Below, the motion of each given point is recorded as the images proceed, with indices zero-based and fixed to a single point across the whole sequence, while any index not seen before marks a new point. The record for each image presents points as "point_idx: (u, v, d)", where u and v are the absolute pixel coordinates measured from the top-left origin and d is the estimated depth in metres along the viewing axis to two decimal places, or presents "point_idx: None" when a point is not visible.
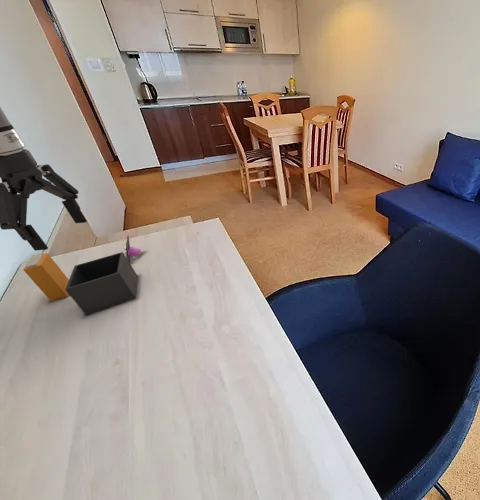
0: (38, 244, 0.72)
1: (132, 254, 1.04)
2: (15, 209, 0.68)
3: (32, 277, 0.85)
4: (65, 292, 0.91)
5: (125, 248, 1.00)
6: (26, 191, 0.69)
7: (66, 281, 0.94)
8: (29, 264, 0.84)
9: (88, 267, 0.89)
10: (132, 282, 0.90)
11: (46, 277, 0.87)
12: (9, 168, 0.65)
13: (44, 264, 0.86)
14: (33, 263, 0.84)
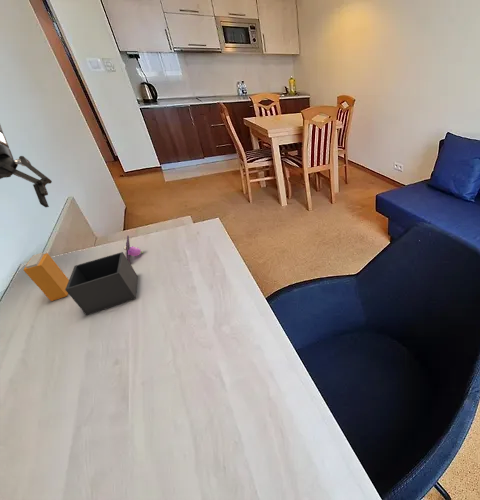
0: (45, 201, 0.90)
1: (132, 254, 1.04)
2: None
3: (32, 277, 0.85)
4: (65, 292, 0.91)
5: (125, 248, 1.00)
6: None
7: (66, 281, 0.94)
8: (29, 264, 0.84)
9: (88, 267, 0.89)
10: (132, 282, 0.90)
11: (46, 277, 0.87)
12: None
13: (44, 264, 0.86)
14: (33, 263, 0.84)
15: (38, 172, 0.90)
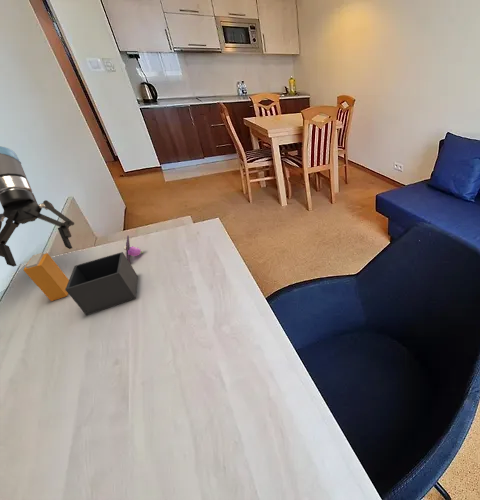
0: (69, 243, 0.94)
1: (132, 254, 1.04)
2: None
3: (32, 277, 0.85)
4: (65, 292, 0.91)
5: (125, 248, 1.00)
6: None
7: (66, 281, 0.94)
8: (29, 264, 0.84)
9: (88, 267, 0.89)
10: (132, 282, 0.90)
11: (46, 277, 0.87)
12: None
13: (44, 264, 0.86)
14: (33, 263, 0.84)
15: (62, 215, 0.94)
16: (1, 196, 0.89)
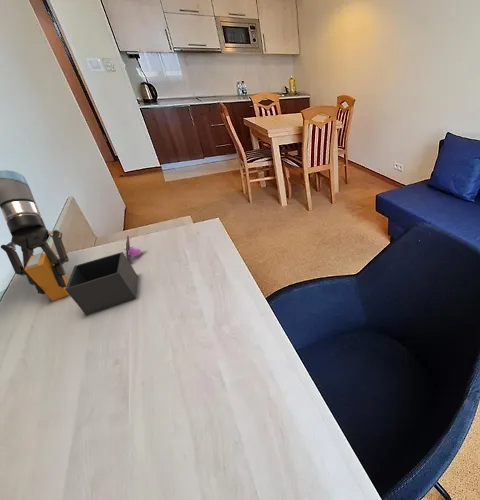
0: (63, 281, 0.90)
1: (132, 254, 1.04)
2: (52, 253, 0.91)
3: (33, 277, 0.85)
4: (66, 291, 0.91)
5: (125, 248, 1.00)
6: None
7: (66, 281, 0.94)
8: (30, 264, 0.84)
9: (88, 267, 0.89)
10: (132, 282, 0.90)
11: (47, 277, 0.87)
12: None
13: (45, 263, 0.86)
14: (34, 263, 0.84)
15: (60, 251, 0.91)
16: (9, 222, 0.87)
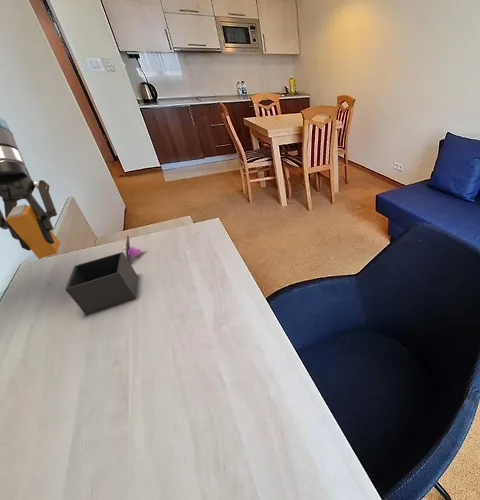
0: (50, 237, 0.80)
1: (132, 254, 1.04)
2: (38, 205, 0.81)
3: (16, 229, 0.75)
4: (55, 248, 0.82)
5: (125, 248, 1.00)
6: None
7: (54, 238, 0.84)
8: (12, 213, 0.74)
9: (88, 267, 0.89)
10: (132, 282, 0.90)
11: (32, 229, 0.77)
12: None
13: (29, 214, 0.76)
14: (17, 212, 0.75)
15: (47, 203, 0.81)
16: None
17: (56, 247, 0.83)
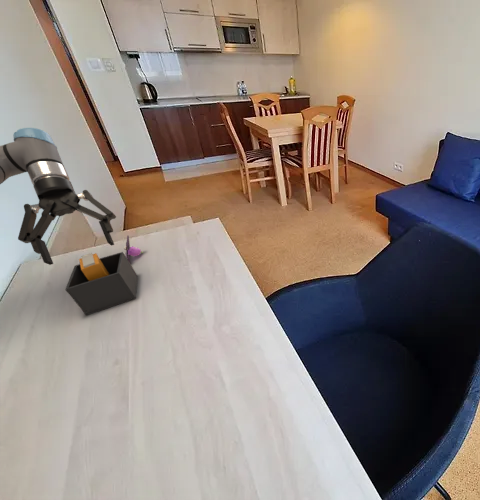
0: (111, 239, 0.83)
1: (132, 254, 1.04)
2: None
3: (89, 277, 0.82)
4: None
5: (125, 248, 1.00)
6: None
7: None
8: (86, 263, 0.81)
9: None
10: (132, 282, 0.90)
11: None
12: None
13: (99, 263, 0.83)
14: (90, 262, 0.81)
15: (103, 207, 0.83)
16: (36, 184, 0.78)
17: None
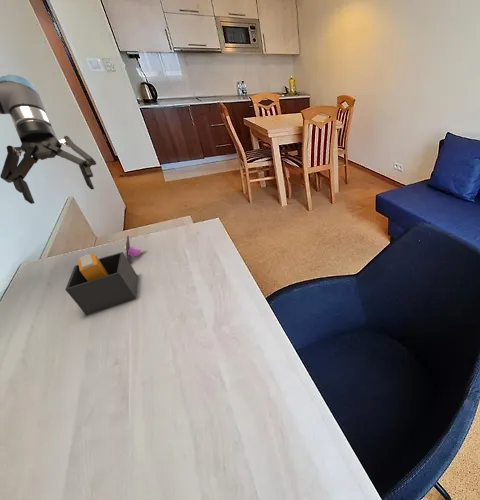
0: (91, 183, 0.87)
1: (132, 254, 1.04)
2: None
3: (88, 278, 0.82)
4: None
5: (125, 248, 1.00)
6: None
7: None
8: (84, 264, 0.81)
9: None
10: (132, 282, 0.90)
11: None
12: None
13: (98, 263, 0.83)
14: (88, 263, 0.81)
15: (83, 153, 0.87)
16: (19, 127, 0.81)
17: None
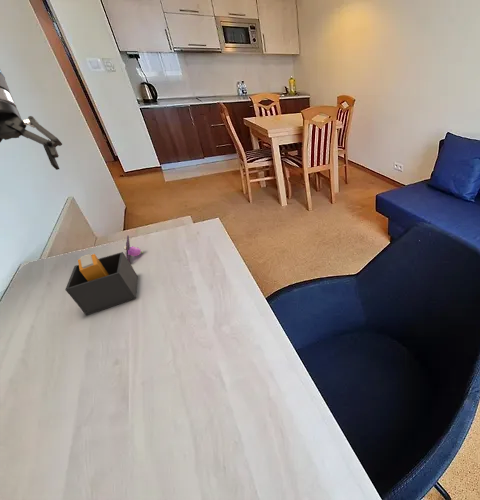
0: (56, 163, 0.87)
1: (132, 254, 1.04)
2: None
3: (88, 278, 0.82)
4: None
5: (125, 248, 1.00)
6: None
7: None
8: (84, 264, 0.81)
9: None
10: (132, 282, 0.90)
11: None
12: None
13: (98, 263, 0.83)
14: (88, 263, 0.81)
15: (48, 133, 0.87)
16: None
17: None
